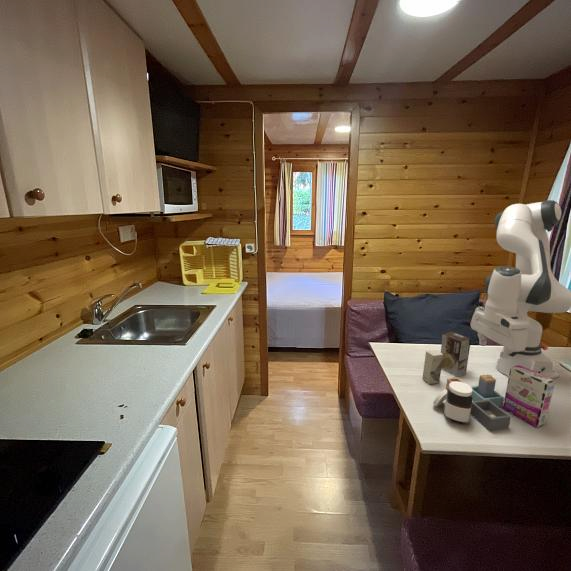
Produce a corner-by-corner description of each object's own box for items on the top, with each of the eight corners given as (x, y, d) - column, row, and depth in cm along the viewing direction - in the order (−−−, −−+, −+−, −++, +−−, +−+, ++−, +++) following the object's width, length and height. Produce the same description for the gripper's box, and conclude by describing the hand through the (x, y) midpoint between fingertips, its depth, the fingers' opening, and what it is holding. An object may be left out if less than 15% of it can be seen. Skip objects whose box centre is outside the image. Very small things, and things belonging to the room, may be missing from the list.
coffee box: (466, 373, 132) (472, 338, 128) (456, 377, 130) (461, 341, 126) (447, 363, 140) (452, 330, 136) (437, 367, 138) (442, 333, 133)
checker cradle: (484, 408, 110) (486, 397, 109) (508, 428, 100) (510, 416, 99) (466, 410, 109) (468, 399, 108) (489, 431, 99) (491, 419, 98)
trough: (485, 393, 119) (486, 384, 118) (502, 406, 111) (503, 397, 110) (466, 395, 118) (467, 386, 117) (482, 408, 110) (483, 399, 109)
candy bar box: (546, 424, 102) (556, 380, 98) (537, 428, 100) (547, 384, 96) (510, 404, 112) (518, 363, 108) (501, 408, 110) (509, 367, 106)
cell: (484, 395, 116) (488, 373, 114) (492, 401, 113) (496, 378, 110) (476, 396, 116) (480, 373, 113) (483, 402, 112) (487, 379, 110)
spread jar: (469, 429, 100) (474, 398, 97) (431, 418, 106) (434, 388, 102) (468, 408, 110) (473, 379, 107) (433, 399, 116) (437, 371, 113)
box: (429, 384, 125) (432, 355, 121) (421, 379, 129) (425, 350, 125) (440, 382, 126) (444, 354, 123) (432, 377, 130) (436, 349, 127)
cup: (455, 388, 122) (457, 377, 120) (463, 395, 118) (465, 383, 116) (445, 389, 121) (447, 378, 120) (453, 396, 117) (454, 385, 116)
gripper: (469, 305, 115) (463, 339, 119) (516, 327, 95) (508, 366, 99) (484, 303, 116) (478, 337, 120) (534, 325, 96) (525, 364, 100)
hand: (492, 351), depth 109 cm, fingers open, 8 cm apart
